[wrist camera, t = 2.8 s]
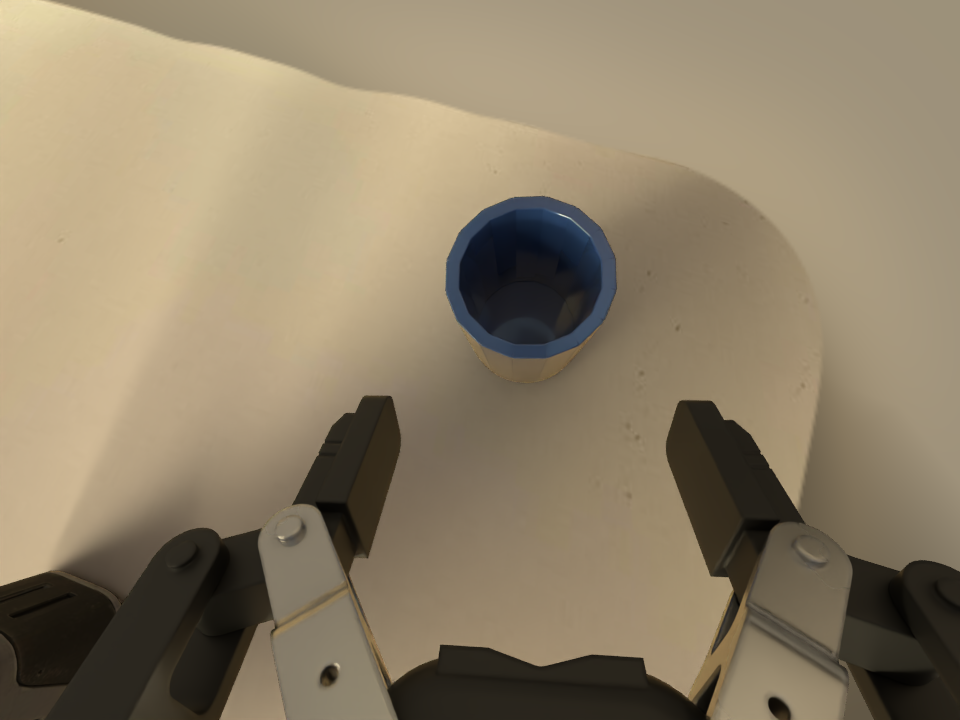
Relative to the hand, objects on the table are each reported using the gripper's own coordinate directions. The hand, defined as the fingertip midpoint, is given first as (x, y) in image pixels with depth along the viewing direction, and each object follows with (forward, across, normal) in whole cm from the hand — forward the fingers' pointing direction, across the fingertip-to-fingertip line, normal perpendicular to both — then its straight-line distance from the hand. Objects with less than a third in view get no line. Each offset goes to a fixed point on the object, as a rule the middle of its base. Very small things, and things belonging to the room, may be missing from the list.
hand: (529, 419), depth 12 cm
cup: (+10, 0, +3) cm, 11 cm away
